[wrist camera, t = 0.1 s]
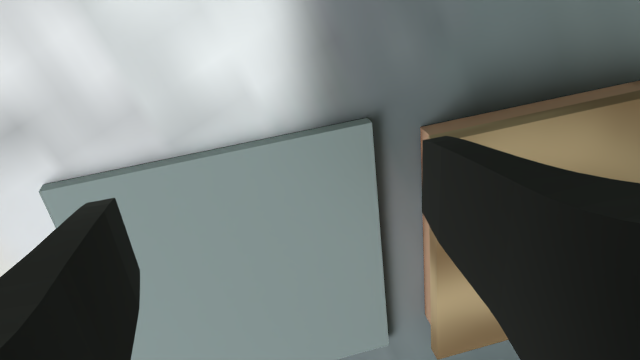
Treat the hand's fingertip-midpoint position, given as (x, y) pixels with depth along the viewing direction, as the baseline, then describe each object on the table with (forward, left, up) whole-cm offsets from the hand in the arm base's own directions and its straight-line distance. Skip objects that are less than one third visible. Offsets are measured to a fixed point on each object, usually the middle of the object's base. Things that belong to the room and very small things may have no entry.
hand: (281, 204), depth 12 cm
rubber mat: (-10, +2, -10) cm, 14 cm away
